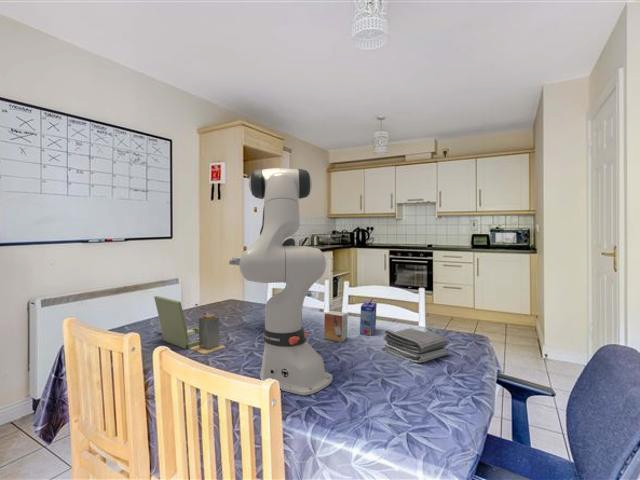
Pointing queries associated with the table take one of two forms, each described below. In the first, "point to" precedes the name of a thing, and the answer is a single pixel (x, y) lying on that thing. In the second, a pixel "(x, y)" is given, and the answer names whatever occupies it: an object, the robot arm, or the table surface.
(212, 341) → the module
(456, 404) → the table surface
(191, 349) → the pad
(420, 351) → the towel
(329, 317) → the small box
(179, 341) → the case
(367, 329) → the juice box
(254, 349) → the table surface
